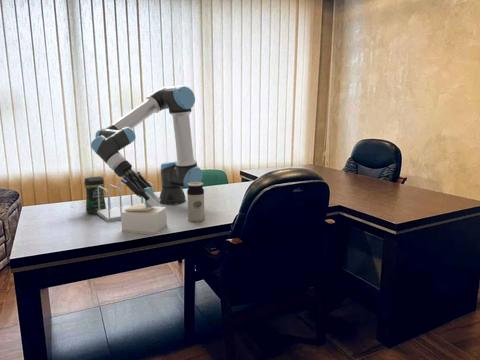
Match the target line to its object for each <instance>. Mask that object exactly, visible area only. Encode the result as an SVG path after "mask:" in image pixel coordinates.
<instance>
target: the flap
mask: <svg viewBox="0 0 480 360" xmlns="http://www.w3.org/2000/svg"><path fill="white" fill-rule="evenodd" d="M143 190H144V191H145V192H147V193H148V194H149V195H150V196H151V197H152V198H153V188H152V187H147V188H144V189H143ZM153 199H154V198H153ZM157 205H159V203H158V204H155V205H154V206H153V207H157ZM153 207H152V206H151V205H150V204H149V203H148V202H147V201H146V200H145V199H144V202H143V203H141V204H140V203H135V205H133V206H131V207H129V208H127V209H125V211H144V210H149V209H151V208H153Z"/></svg>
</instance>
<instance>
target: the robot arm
mask: <svg viewBox="0 0 480 360" xmlns="http://www.w3.org/2000/svg"><path fill="white" fill-rule="evenodd" d="M195 102H196V97H195V94H194V91H193V90H192V89H191V88H190V87H188V86H187V85H181V84H180V85H167V86H163V87H161V88H158V89H157V90H155V91H154V92H152V93H151V94H149V95H148V96H146V97H145V100H144V101H143V102H142V103H140V104H139V105H137V106H136V107H135V108H133V109H132V110H131V111H129V112H128V113H126V114H124V115H123V116H122V117H120V118H119V119H118V120H116V121H115V122H112V123H111V124H110V125H109V126H107V127H105V128H100V129H98V130H97V131H96V132H95V136H94V137H95V138H94V139H93V140H92V141H91V143H90V148H91V149H92V150H93V151H94V153H95V154H96V155H97V156H99V158H100V159H101V160H102V161H103V162H104V163H105V164H106V165H107V166H108V167H109V169H111V170H112V171H113V172H114V173H115V174H116V175H117V176H118V177H119V178H121V180H120V181H121V182H120V183H124V184H126V185H127V186H128V188H129V190H130V189H131V190H132V193H133V194H135V195H136V197H138V198H141V196H142V197H143V200H144V201H145V200H146V201H147V202H148V203H149V204H150V205H151V206H152V207H153V206H154V205H155V204H158V205H159V203H160V204H161V205H162V204H163V205H179V204H182V203H185V202H187V201H186V199H187V198H186V195H185V192H184V189H183V187H184V188H187V189H188V188H189V187H188V183H191V182H201V183H202V180H203V170H202V169H201V168H200V167H198V162H197V160H195V157H194V151H193V150H194V148H193V138H192V130H191V121H190V120H191V119H190V114H191V113H192V108H193V107H194V104H195ZM167 109H168V112H169V114H170V115H171V117H172V121H173V122H172V123H173V131H174V132H173V133H174V138H175V149H176V156H177V161H168V162H163V163H161V164H160V178H161V179H160V181H161V190H160V194H159V197H158V196H157V194H156V193H155V191H154V192H153V198H154V199H153V198H152V197H151V196H150V195H149V194H148V193H147V192H145V191H144V190H143V189H144V188H147V187H152V185H151V184H149V183H148V182H149V181H148V180H146V178H145V177H144V176H143V175H142V173H141V172H140V171H137V172H136V171H135V170H133V169H132V168H133V165H132V164H131V162H129V160H126V157H125V156H123V154H122V153H121V152H120V151H121V150H122V149H124V148H126V147H127V146H129V145H131V144H132V143H133V142H134V141H135V140H136V138H137V137H136V133H135V131H134V128H136V127H137V126H138V125H140V124H141V123H142V122H144V121H145V120H146V119H148V118H149V117H151V116H152V115H154V114H158V113H160V112H161V111H163V110H167ZM127 186H126V187H127ZM154 207H155V206H154Z"/></svg>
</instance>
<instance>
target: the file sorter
mask: <svg viewBox="0 0 480 360" xmlns="http://www.w3.org/2000/svg"><path fill="white" fill-rule="evenodd" d="M147 182H148V183H149V184H150V185H151V186H152V191H153V192H154V193H155V187H154V184H153V183H152V182H150V181H147ZM122 185H123V186H124V187H128V186H127V185H126V184H124V183H123V182H120V183H119V187H118V186H116V185H113V184H110V183H109V184H108V187H107V188H103V187H101V186H98V207H99V210H97V213H96V214H97V215H99V216H100V217H101V218H103V219H104V220H106V222H110V223H111V222H113V221H114V222H115V221H121V212H122V211H124V210H125V209H127V208H129V207H131V206H133V205H135V204H136V203H135V204H134V203H133V191H132V190H131V189H130V188H129V187H128V188H129V192H130V204H127V205H123V203H122ZM110 186H111V187H113V188H115V189H117V190H118V193H119V206H115V207H112V206H111V204H112V203H111V193H110V192H111V191H110ZM99 187H100V188H102V189H103V191H105V193H106V194H107V207H108V208H106V209H102V210H100V202H99ZM140 202H141V203H144V198H143V197H142V196H141V197H140ZM141 203H139V204H141Z"/></svg>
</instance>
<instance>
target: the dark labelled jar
mask: <svg viewBox="0 0 480 360" xmlns="http://www.w3.org/2000/svg"><path fill="white" fill-rule="evenodd" d="M188 187H189V188H187V191H186V194H187V198H186V199H187V220H188V221H190V222H193V223H194V222H196V223H197V222H202V221H205V190H204V188H203V187H204V182H202V181H201V182H191V183H188Z"/></svg>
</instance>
